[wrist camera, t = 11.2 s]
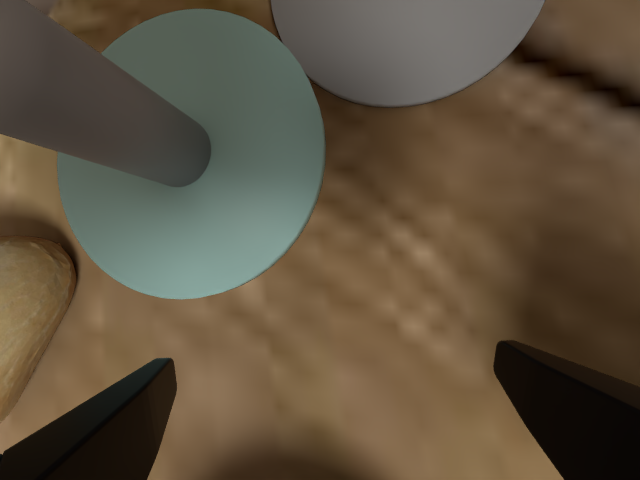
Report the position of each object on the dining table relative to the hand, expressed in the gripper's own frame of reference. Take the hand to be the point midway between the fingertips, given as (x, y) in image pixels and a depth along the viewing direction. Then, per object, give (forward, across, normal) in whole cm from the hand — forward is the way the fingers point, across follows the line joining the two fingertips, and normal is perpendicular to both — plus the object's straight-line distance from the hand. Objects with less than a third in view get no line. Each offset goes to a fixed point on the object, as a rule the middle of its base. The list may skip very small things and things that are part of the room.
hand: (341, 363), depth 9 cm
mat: (+15, -6, -17) cm, 24 cm away
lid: (+11, +7, -6) cm, 14 cm away
